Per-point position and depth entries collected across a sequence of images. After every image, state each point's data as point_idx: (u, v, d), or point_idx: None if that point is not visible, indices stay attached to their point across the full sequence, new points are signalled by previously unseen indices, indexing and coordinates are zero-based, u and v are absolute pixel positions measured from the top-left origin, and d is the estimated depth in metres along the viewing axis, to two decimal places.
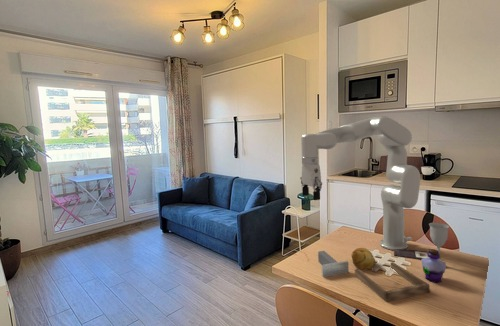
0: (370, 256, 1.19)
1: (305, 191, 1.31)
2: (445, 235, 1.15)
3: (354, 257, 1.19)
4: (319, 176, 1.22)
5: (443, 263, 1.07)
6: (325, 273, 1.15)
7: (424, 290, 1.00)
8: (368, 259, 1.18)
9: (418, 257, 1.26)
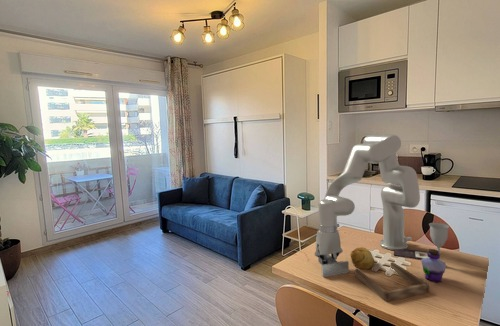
0: (369, 256, 1.19)
1: None
2: (445, 235, 1.15)
3: (353, 257, 1.19)
4: None
5: (443, 263, 1.07)
6: (325, 273, 1.15)
7: (424, 290, 1.00)
8: (367, 259, 1.18)
9: (418, 257, 1.26)
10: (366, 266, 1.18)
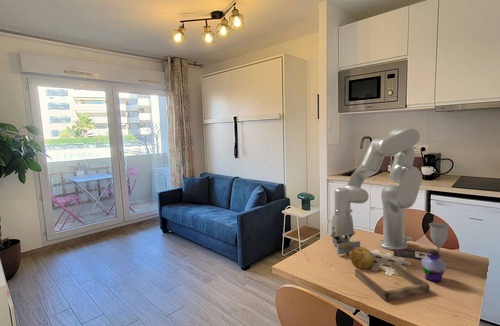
0: (368, 255, 1.20)
1: None
2: (445, 235, 1.15)
3: (352, 256, 1.20)
4: None
5: (443, 263, 1.07)
6: (340, 251, 1.32)
7: (424, 290, 1.00)
8: (366, 258, 1.19)
9: (418, 257, 1.26)
10: (365, 265, 1.19)
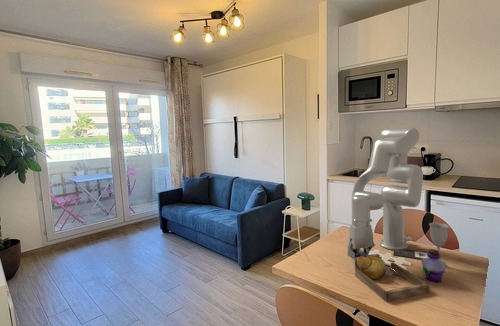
0: (377, 265, 1.11)
1: None
2: (445, 235, 1.15)
3: (358, 263, 1.14)
4: None
5: (443, 263, 1.07)
6: (357, 266, 1.20)
7: (424, 290, 1.00)
8: (372, 268, 1.10)
9: (417, 257, 1.26)
10: (371, 275, 1.10)
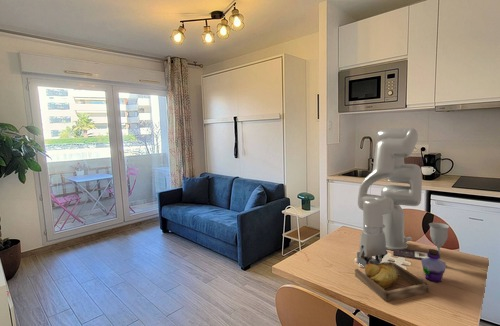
0: (384, 274, 1.04)
1: None
2: (445, 235, 1.15)
3: (366, 270, 1.08)
4: None
5: (443, 263, 1.07)
6: None
7: (424, 290, 1.00)
8: (379, 277, 1.04)
9: (417, 257, 1.26)
10: None
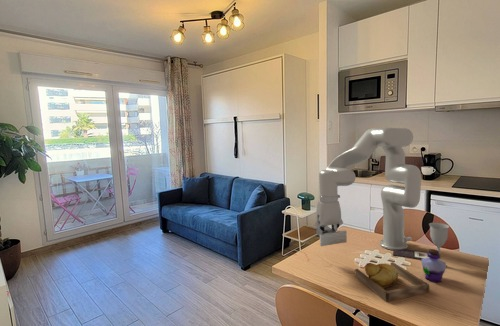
0: (384, 274, 1.04)
1: None
2: (445, 235, 1.15)
3: (366, 269, 1.09)
4: None
5: (443, 263, 1.07)
6: (323, 242, 1.15)
7: (424, 290, 1.00)
8: (379, 276, 1.04)
9: (417, 257, 1.26)
10: None
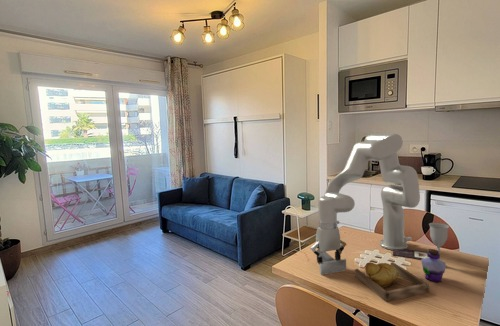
0: (384, 274, 1.04)
1: None
2: (445, 235, 1.15)
3: (366, 268, 1.09)
4: None
5: (443, 263, 1.07)
6: (323, 271, 1.17)
7: (424, 290, 1.00)
8: (378, 276, 1.05)
9: (417, 257, 1.26)
10: (377, 283, 1.05)
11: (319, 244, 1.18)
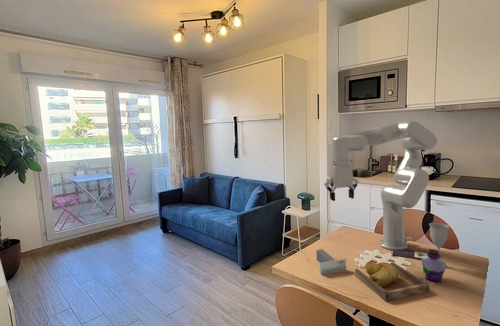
0: (384, 273, 1.05)
1: None
2: (445, 235, 1.15)
3: (366, 267, 1.10)
4: None
5: (443, 263, 1.07)
6: (323, 271, 1.17)
7: (424, 290, 1.00)
8: (378, 275, 1.05)
9: (416, 257, 1.26)
10: (376, 282, 1.06)
11: (333, 180, 1.26)
